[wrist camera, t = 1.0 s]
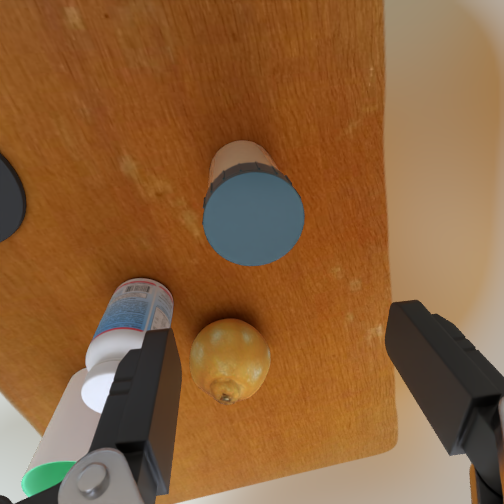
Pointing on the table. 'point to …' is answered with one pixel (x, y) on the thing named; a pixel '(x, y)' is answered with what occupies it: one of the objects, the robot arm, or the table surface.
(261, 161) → the jar
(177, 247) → the table surface
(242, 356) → the fruit
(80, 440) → the mug
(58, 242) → the table surface
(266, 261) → the lid
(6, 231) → the coaster
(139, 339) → the pill bottle
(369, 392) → the table surface
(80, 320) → the table surface
